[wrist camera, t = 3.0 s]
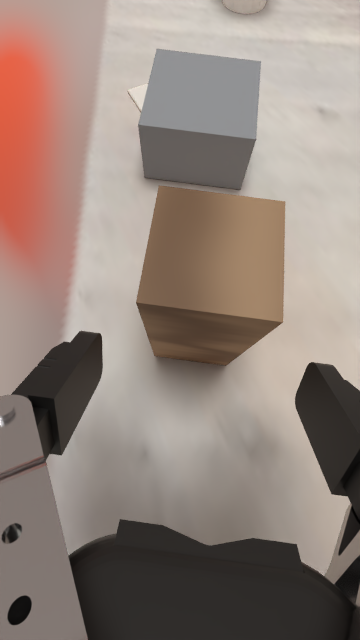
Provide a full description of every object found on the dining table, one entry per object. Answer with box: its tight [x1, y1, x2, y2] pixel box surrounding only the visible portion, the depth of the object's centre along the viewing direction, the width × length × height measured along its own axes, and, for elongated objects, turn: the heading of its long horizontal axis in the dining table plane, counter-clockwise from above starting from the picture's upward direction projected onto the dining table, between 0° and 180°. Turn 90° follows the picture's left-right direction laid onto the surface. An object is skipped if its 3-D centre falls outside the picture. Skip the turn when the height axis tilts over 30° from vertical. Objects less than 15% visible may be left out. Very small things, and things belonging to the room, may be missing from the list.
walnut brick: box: [136, 186, 285, 366], centre depth 16 cm, size 5×5×11 cm
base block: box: [138, 49, 261, 190], centre depth 24 cm, size 9×9×5 cm
